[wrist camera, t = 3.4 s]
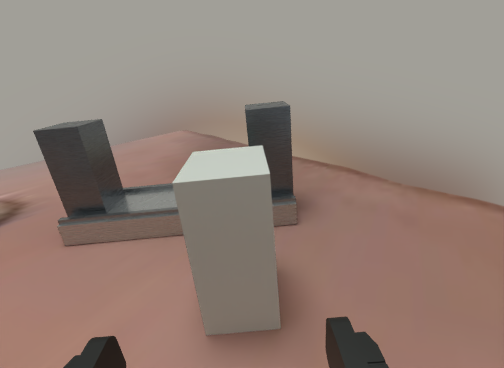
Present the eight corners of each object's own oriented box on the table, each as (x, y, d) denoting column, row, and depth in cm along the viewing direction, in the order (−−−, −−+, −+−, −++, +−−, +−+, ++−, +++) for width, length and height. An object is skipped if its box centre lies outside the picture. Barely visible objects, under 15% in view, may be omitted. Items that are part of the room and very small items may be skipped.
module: (206, 335, 18) (172, 183, 14) (215, 272, 23) (193, 151, 19) (280, 328, 18) (269, 173, 13) (271, 267, 23) (262, 144, 19)
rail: (65, 245, 30) (17, 135, 25) (104, 208, 38) (74, 120, 33) (297, 224, 29) (293, 107, 25) (285, 191, 38) (281, 99, 33)
